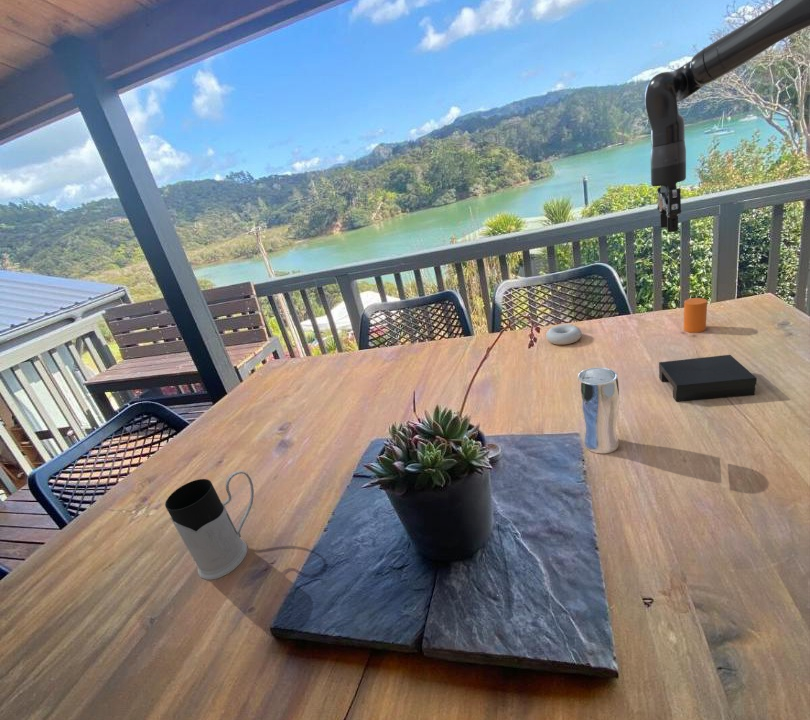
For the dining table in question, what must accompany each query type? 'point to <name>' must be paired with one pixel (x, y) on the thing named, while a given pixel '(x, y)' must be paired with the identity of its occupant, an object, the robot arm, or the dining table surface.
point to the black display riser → (707, 378)
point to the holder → (208, 527)
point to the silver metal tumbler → (599, 408)
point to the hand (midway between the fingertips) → (668, 229)
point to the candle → (695, 315)
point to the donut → (563, 334)
